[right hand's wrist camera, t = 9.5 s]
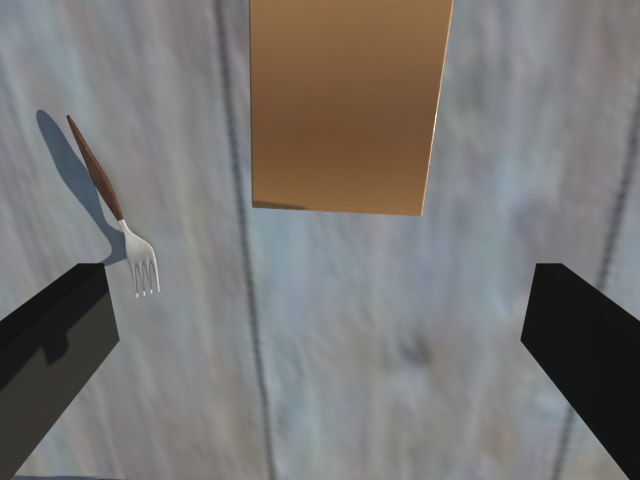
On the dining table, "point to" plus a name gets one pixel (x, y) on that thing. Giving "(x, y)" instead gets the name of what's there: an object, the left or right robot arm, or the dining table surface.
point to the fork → (118, 215)
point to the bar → (345, 102)
